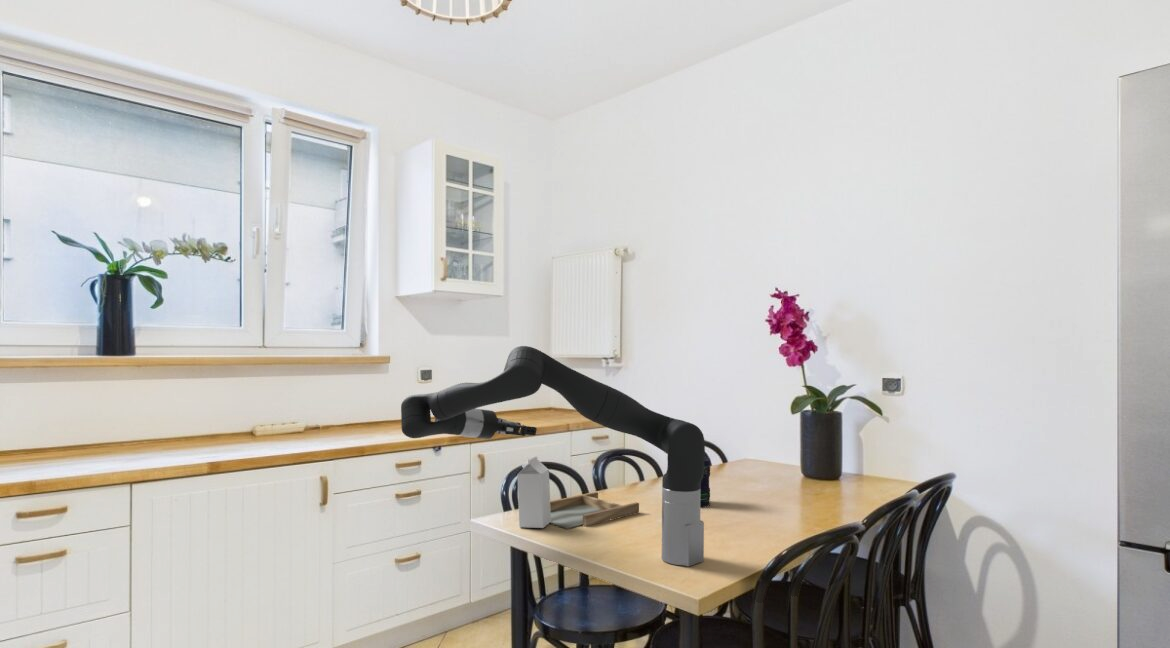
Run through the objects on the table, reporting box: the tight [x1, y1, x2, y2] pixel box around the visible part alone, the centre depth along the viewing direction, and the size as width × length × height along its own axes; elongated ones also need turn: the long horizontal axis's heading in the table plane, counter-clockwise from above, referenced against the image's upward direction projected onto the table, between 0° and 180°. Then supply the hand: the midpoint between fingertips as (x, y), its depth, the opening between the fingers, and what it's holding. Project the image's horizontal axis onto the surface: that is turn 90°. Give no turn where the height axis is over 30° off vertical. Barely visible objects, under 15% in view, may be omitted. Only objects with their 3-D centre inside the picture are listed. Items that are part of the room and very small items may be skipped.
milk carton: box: [516, 455, 551, 529], centre depth 177 cm, size 7×7×19 cm
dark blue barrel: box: [700, 456, 711, 508], centre depth 204 cm, size 10×10×15 cm
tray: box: [550, 491, 640, 530], centre depth 189 cm, size 19×29×3 cm
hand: (527, 428), depth 171 cm, fingers open, 8 cm apart
